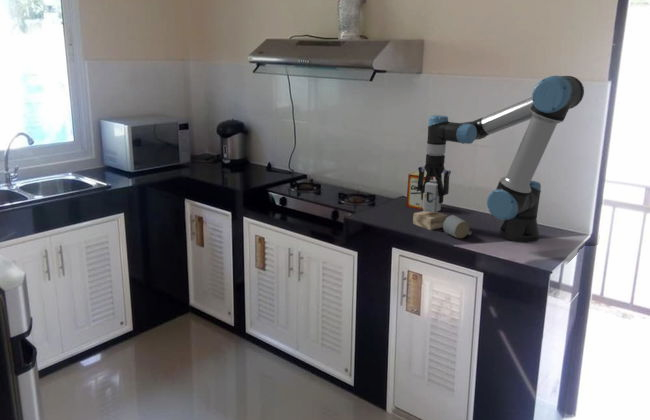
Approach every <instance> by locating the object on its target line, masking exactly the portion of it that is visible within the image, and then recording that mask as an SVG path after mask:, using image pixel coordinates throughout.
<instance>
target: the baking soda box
mask: <svg viewBox="0 0 650 420" xmlns="http://www.w3.org/2000/svg"><path fill="white" fill-rule="evenodd" d="M426 174H427V173H425V172H424V180H423V184H424V181H425V179H426ZM407 175H408V177H407V178H408V179H407V190H406V191H407V192H406V207H407V208H411V209H416V210H419V211H423V208H422V203H423V200H421V191H419V190H417V187H418V178H419V171H415V172H411V173H408V174H407ZM430 180H433V181H434V177H433V176H432V177H431V179H430Z"/></svg>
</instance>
